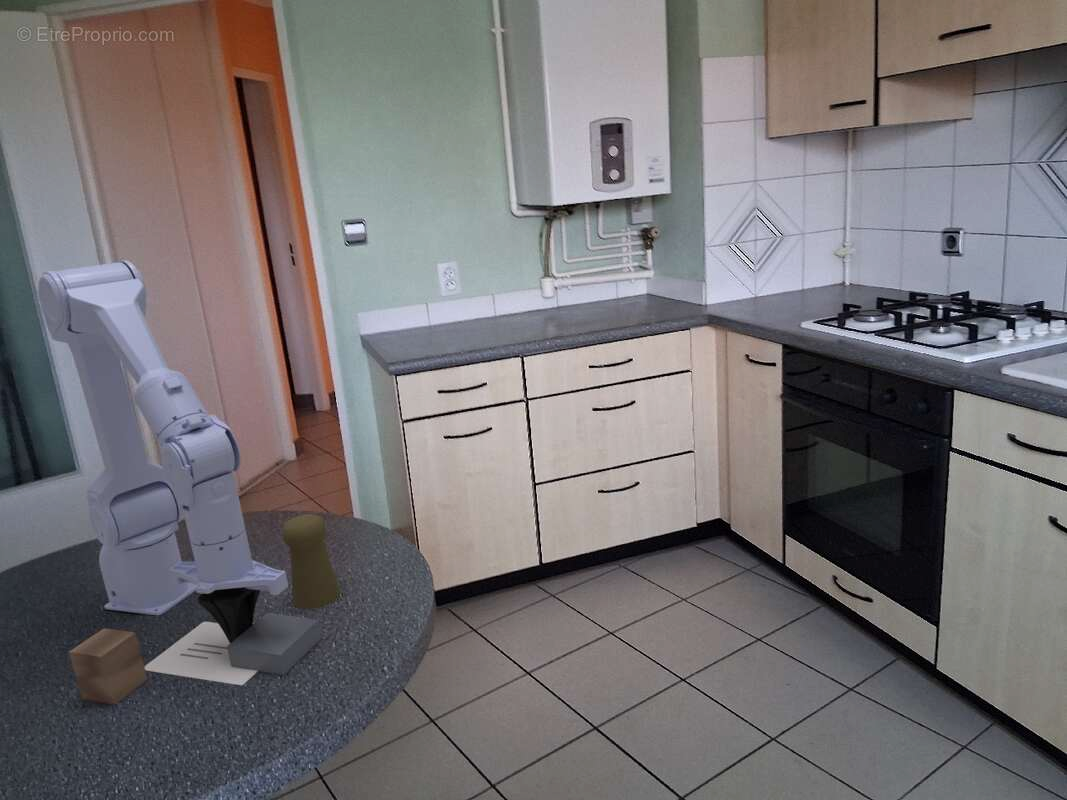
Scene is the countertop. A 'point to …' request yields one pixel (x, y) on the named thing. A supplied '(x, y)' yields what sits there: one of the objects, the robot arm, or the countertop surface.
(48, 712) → the countertop surface
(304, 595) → the cork
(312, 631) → the metal block
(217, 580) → the robot arm
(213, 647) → the letter
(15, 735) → the countertop surface
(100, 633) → the walnut block
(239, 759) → the countertop surface
